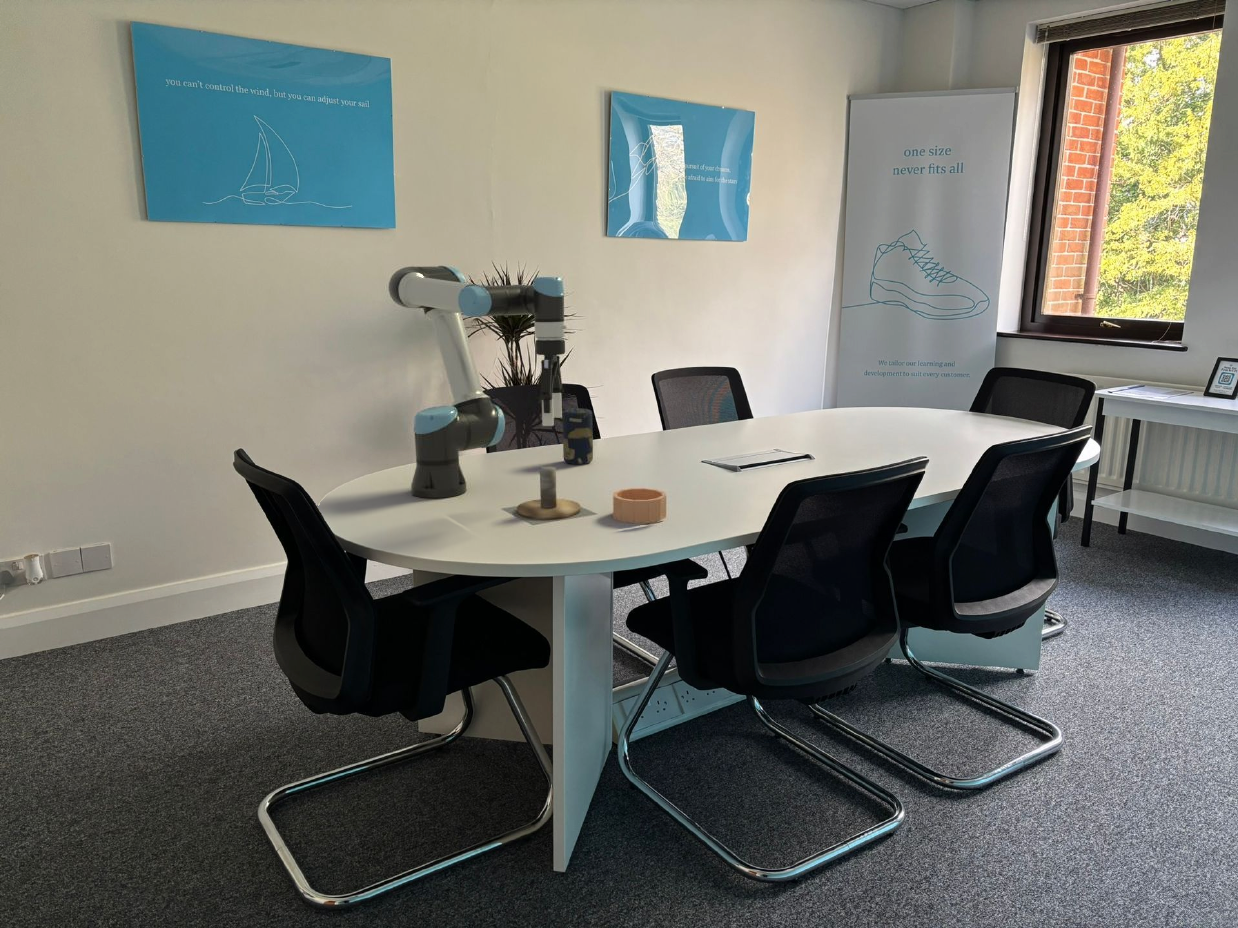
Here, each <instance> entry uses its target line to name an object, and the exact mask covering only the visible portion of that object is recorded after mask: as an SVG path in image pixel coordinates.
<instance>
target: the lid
mask: <svg viewBox="0 0 1238 928" xmlns="http://www.w3.org/2000/svg"><path fill="white" fill-rule="evenodd" d="M539 484H540V485H539V486H540V487H539V488H540V496H539V497H540V499H532V500H528V501H527V500H526V501H524V502H522V503H520V504H518V505H516V506H517V514H518V515H520V516H522V517H525V518H530V519H538V520H553V519H563V518H568V517H572V516H575V515H577V514H578V513H580V507H581V504H580V503H579V502H576V501H574V500H569V499H565V498H557V467H555V466H549V465H548V466H541V467H540V468H539Z"/></svg>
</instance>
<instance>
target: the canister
mask: <svg viewBox="0 0 1238 928" xmlns="http://www.w3.org/2000/svg"><path fill="white" fill-rule="evenodd" d="M593 433H594V432H593V412H592V410H590V409H588V408H578V406H576V407H575V408H567V409H565V410H562V446H563V447H562V448H563V449H562V450H563V454H562V457H563V461H564V462H566V463H568V464H573V465H574V464H577V465H578V464H579V465H581V464H587V463H591V462H592V461H593V460H594V434H593Z"/></svg>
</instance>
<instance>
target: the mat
mask: <svg viewBox="0 0 1238 928" xmlns="http://www.w3.org/2000/svg"><path fill="white" fill-rule="evenodd" d="M517 506H518V505H516V506H515V505H514V506H510V507H509V506H508V507H504V508H501V510H502V511H505V512H507V513H509V514H511V515H512V516H515V517H517V518H518V519H520V520H522V521H524V522H526V523H528V524H530V525H532V526H536V525H541V524H547V523H552V522H559V521H565V520H571V519H578V518H582V517H589V516H595V515H598V513H597V512H593V511H592V510H590V509H587V508H585V507H583V506H580V513H578V514H577V515H575V516H572V517H568V518H563V519H553V520H538V519H530V518H525V517H522V516H520V515H518V514H517Z"/></svg>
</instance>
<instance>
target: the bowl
mask: <svg viewBox="0 0 1238 928" xmlns="http://www.w3.org/2000/svg"><path fill="white" fill-rule="evenodd" d="M612 506H613V507H612V515H613V519H615V520H618V521H620V522H625V523H630V524H631V523H632V524H642V526H650V525H655V524H656V525H657V524H660V523H662V522H663V520H664V519H666V518H667V493H666V492H665V491H663V490H659V489H655V488H649V487H648V488H647V487H632V488H631V487H630V488H625V489H619V490H617V491H614V492H613V493H612Z"/></svg>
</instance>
